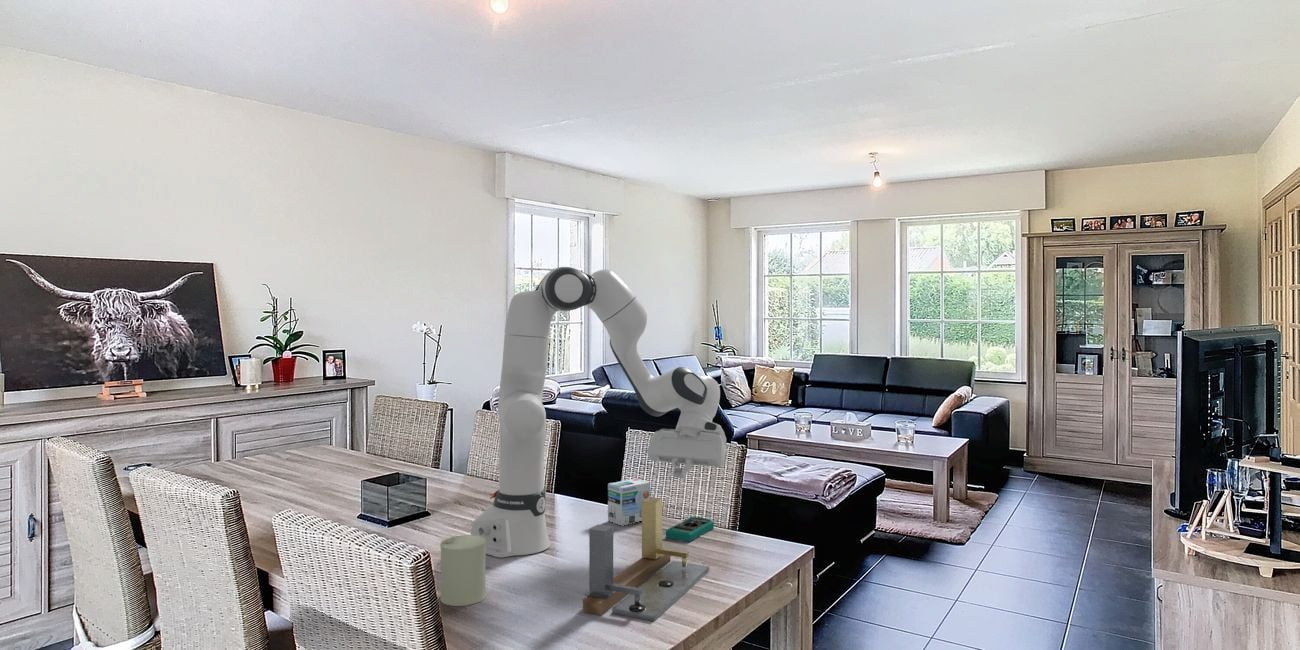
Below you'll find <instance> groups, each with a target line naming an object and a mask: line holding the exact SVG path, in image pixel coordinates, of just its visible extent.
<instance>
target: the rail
mask: <svg viewBox="0 0 1300 650" xmlns="http://www.w3.org/2000/svg"><path fill="white" fill-rule="evenodd" d="M669 563H671V556H670V555H664V554H662V555H661V556H660V557H658V558H657V559H650V558H643V557H642V556H641V557H640V558H639V559H638V560H636V561H635V562H634V563H633V564H630V566H628V567H627V568H625V569H623V570H622V571H621V572H619V573H618V574H617V575H615V576H613V583H614V584H620V585H625V586H631V587H636V588H639V587H640V586H641V585H642V584H644V583H645V582H646V581H648V580H649V579H650V578H651V577H653V576H654V575H655V574H657V573H658V572H659V571H660V570H662V569H663V568H664V567H665V566H667V565H668V564H669ZM628 595H629V594H627V593H622V592H617V593H615V594H614V595H613V596H611V597H610V598H609V599H607V600H605V599H599V598H594V597H589V596H585V597H584V598H583V599H582V613H586V614H591V615H596V616H602V615H603V614H604V613H606V612H607V611H609V610H610V609H611V608H613V607H614V606H616V605H617V604H618V603H619V602H621V601H622V600H623V599H624V598H626V597H627V596H628Z"/></svg>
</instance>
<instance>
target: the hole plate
mask: <svg viewBox="0 0 1300 650" xmlns="http://www.w3.org/2000/svg"><path fill="white" fill-rule="evenodd" d="M709 572H710V566H709V565H702V564H696V563H690V562H687V567H682V561H678V560H672V561H670V562H669V563H668V564H666V565H665V566H664V567H663V568H661V569H660V570H659V571H657V572H656V573H655V574H654V575H652V576H651V577H650V578H648V579H647V580H646V581H644V582H643V583H642V584H641V585H639V586H638V588H642V594H641V595H640V606H635V595H632V594H628V595H626V596H625V597H624V598H623V599H621V600H620V601H619V602H617V603H616V604H615V605H614V606H612V607H611V608H612V609H611V612H612V614H615V615H620V616H625V617H631V618H634V619H635V618H636V619H640V620H645V621H650V622H655V621H656V620H657V619H659V617H660V616H662V615H663V614H664V613H665V612H666V611H667V610H668V609H670V607H672V606H673V605H674V604H675V602H677V601H678V600H679V599H680V598H681V597H682V596H684V595H685V594H686V593H687V592H688V591H689V590H690V589H691V588H692V587H693V586H694V585H696V584H697V583H698V582H699V581H701V580H702V578H703V577H705V576H706V574H707V573H709Z"/></svg>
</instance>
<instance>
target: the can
mask: <svg viewBox="0 0 1300 650" xmlns="http://www.w3.org/2000/svg"><path fill="white" fill-rule="evenodd" d="M485 550H486V540H485V539H484V538H483V537H480V536H473V535H471V534H468V535H466V534H465V535H456V536H452V537H448V538H446V539H444V540H442V541H441V542H440V597H439V599H440V602H441V603H443V604H444V605H446V606H449V607H450V606H451V607H466V606H472V605H475V604H478V603H480V602H482V601H484V600H485V598H486V597H487V589H486V587H487V586H486V554H485Z"/></svg>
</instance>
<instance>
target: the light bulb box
mask: <svg viewBox="0 0 1300 650" xmlns="http://www.w3.org/2000/svg"><path fill="white" fill-rule="evenodd" d="M648 497H651V481H646V480H644V479H639V478H630V479H626V480H625V479H624V480H620V481H616V482H609V483H607V522H609V521H610V523H612V522H613V523H612V524H615V523H616V524H615V525H617V524H618V526H620V525H621V527H625V526H628V524H629V525H632V523H633V524H636V523H635V522H638V523H640V522H639V521H642V500H644V499H646V498H648ZM624 525H625V526H624Z"/></svg>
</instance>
